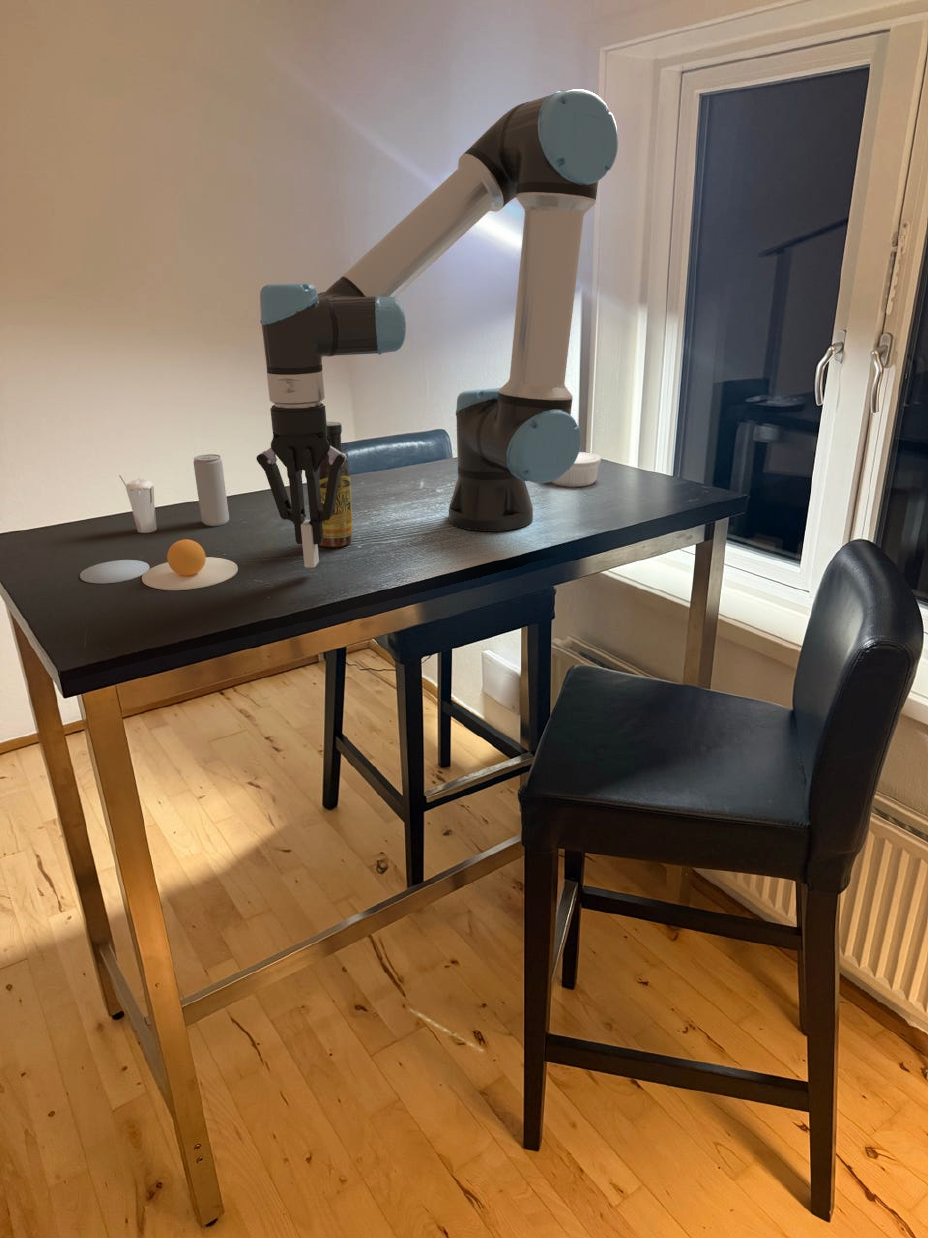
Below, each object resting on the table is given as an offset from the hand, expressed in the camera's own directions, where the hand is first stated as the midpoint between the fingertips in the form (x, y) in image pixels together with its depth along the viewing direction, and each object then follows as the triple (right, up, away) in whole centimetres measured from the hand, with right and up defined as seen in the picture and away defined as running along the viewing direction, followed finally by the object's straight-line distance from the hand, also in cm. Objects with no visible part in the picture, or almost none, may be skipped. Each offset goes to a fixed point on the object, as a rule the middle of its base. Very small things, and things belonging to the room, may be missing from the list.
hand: (311, 564), depth 127 cm
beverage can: (-22, +9, +27) cm, 36 cm away
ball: (-19, +1, +1) cm, 19 cm away
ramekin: (+46, +20, +51) cm, 72 cm away
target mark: (-19, -1, +3) cm, 19 cm away
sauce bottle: (+1, +4, +15) cm, 16 cm away
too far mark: (-31, -1, +4) cm, 31 cm away
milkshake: (-34, +7, +23) cm, 42 cm away
